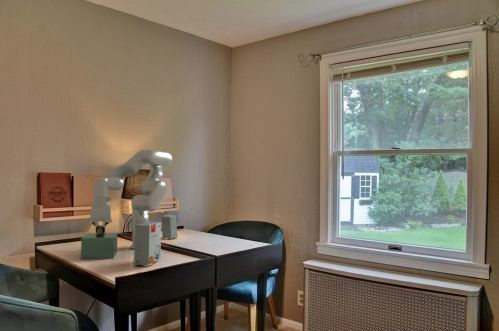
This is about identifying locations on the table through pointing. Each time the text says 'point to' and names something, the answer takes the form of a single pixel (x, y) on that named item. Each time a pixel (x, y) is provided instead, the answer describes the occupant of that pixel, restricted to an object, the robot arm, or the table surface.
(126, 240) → the table surface
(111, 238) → the coin box
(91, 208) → the robot arm
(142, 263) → the hard drive box
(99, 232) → the token
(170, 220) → the skincare box
